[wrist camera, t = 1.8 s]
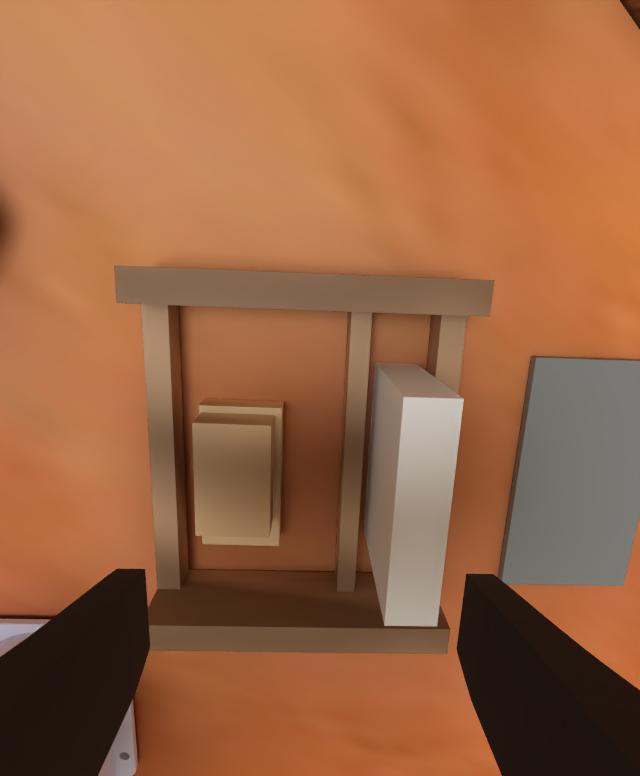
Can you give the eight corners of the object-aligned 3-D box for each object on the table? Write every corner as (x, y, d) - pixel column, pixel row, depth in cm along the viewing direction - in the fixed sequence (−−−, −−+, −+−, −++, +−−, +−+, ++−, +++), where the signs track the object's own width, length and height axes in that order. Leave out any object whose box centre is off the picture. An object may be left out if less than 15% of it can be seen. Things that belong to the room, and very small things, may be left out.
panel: (401, 529, 20) (437, 626, 15) (363, 528, 20) (384, 625, 15) (415, 363, 19) (463, 398, 13) (374, 362, 19) (403, 397, 13)
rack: (425, 594, 21) (447, 653, 18) (168, 590, 21) (141, 650, 17) (458, 281, 18) (494, 280, 14) (152, 269, 17) (113, 265, 14)
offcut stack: (281, 528, 21) (276, 565, 18) (209, 526, 20) (193, 563, 18) (284, 399, 19) (279, 418, 16) (207, 396, 19) (189, 415, 16)
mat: (617, 580, 21) (623, 586, 21) (497, 578, 21) (501, 583, 21) (667, 360, 19) (674, 362, 18) (531, 356, 19) (536, 357, 18)
